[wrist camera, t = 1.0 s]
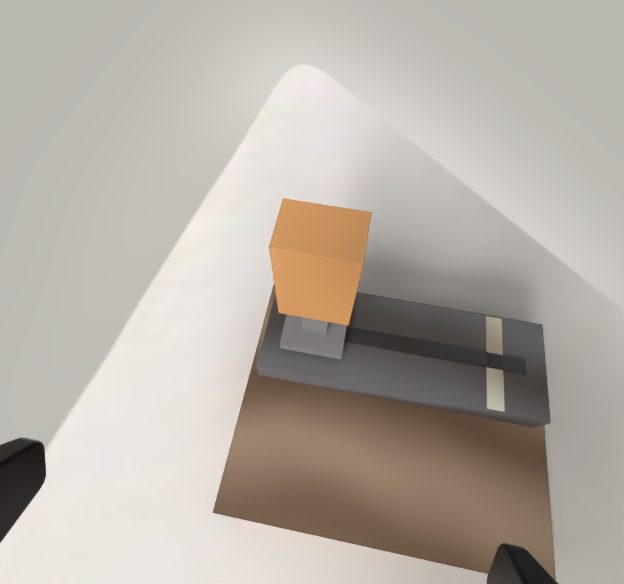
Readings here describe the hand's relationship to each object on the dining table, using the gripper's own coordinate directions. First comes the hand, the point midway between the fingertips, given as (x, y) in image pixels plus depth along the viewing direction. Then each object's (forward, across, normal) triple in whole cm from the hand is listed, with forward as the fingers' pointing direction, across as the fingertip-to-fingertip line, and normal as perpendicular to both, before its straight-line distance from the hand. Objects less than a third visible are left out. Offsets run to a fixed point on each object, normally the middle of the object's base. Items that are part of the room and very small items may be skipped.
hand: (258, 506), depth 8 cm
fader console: (+13, -4, +6) cm, 15 cm away
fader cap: (+13, 0, +1) cm, 13 cm away
